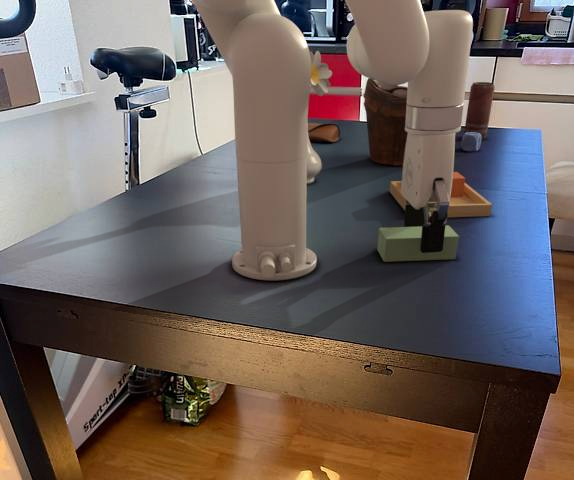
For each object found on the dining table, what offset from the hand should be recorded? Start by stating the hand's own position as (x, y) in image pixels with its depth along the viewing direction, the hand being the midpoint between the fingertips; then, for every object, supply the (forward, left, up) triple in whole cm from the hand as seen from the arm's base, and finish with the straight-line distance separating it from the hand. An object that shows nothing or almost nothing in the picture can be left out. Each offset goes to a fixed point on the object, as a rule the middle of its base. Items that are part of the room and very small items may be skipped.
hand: (422, 240), depth 88 cm
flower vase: (+46, +15, -3) cm, 48 cm away
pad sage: (0, +1, -2) cm, 2 cm away
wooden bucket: (+62, -11, -3) cm, 63 cm away
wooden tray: (+26, -10, -2) cm, 28 cm away
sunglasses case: (+90, +9, -3) cm, 90 cm away
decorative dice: (+71, -32, -3) cm, 78 cm away
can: (+85, -38, -3) cm, 93 cm away
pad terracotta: (+30, -10, -2) cm, 32 cm away
